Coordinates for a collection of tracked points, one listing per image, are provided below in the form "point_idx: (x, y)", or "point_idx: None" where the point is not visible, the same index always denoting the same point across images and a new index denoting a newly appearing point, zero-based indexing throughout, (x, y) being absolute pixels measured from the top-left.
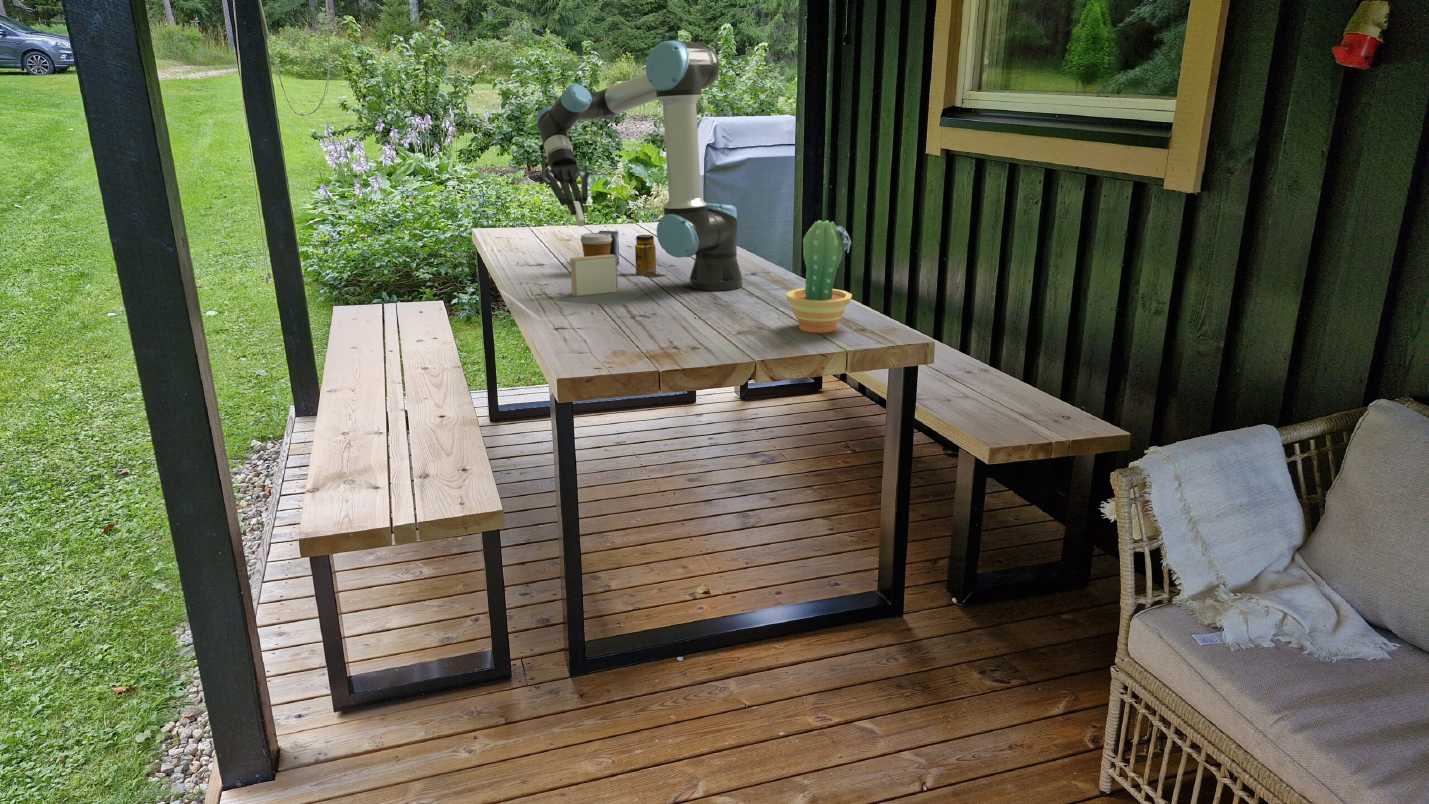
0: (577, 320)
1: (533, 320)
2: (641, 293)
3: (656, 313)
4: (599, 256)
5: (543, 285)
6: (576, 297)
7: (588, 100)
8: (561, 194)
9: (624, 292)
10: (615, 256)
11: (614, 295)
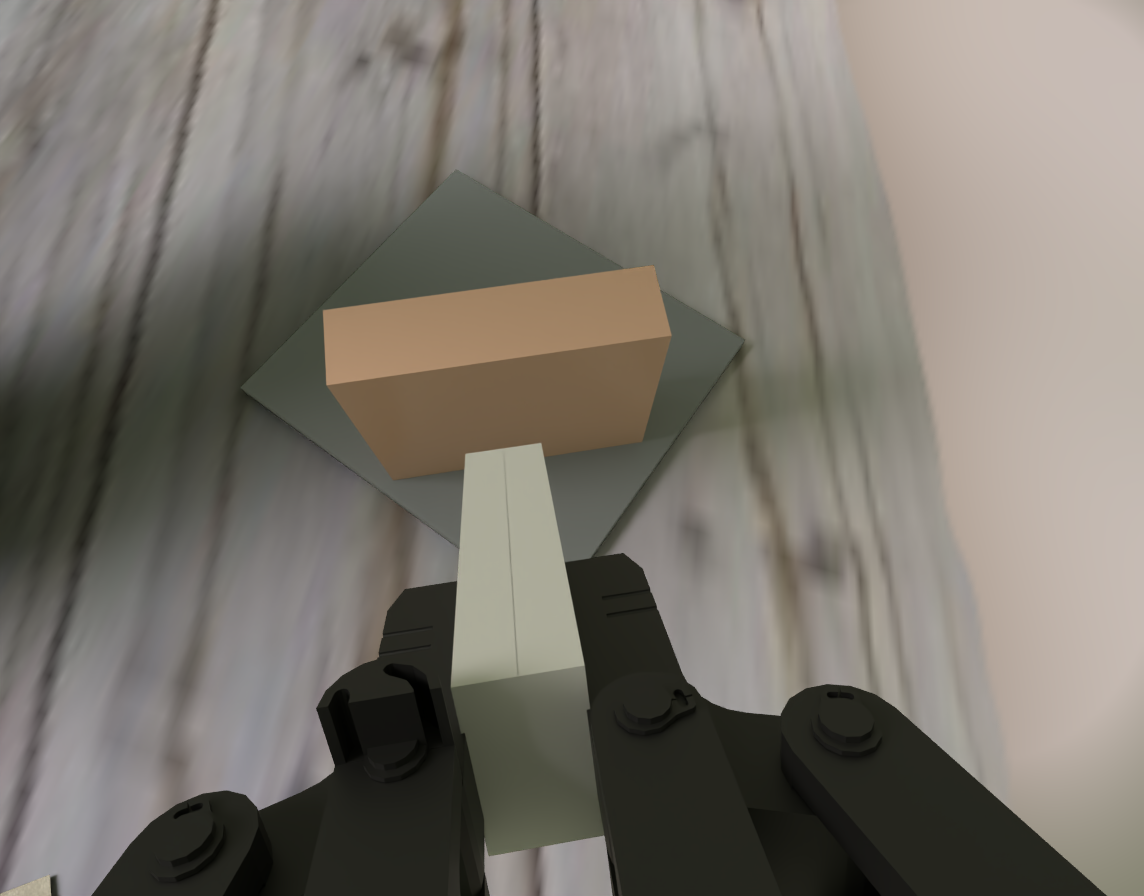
0: (668, 58)
1: (837, 98)
2: (274, 368)
3: (345, 71)
4: (447, 330)
5: None
6: None
7: None
8: (980, 843)
9: None
10: (330, 310)
11: None
